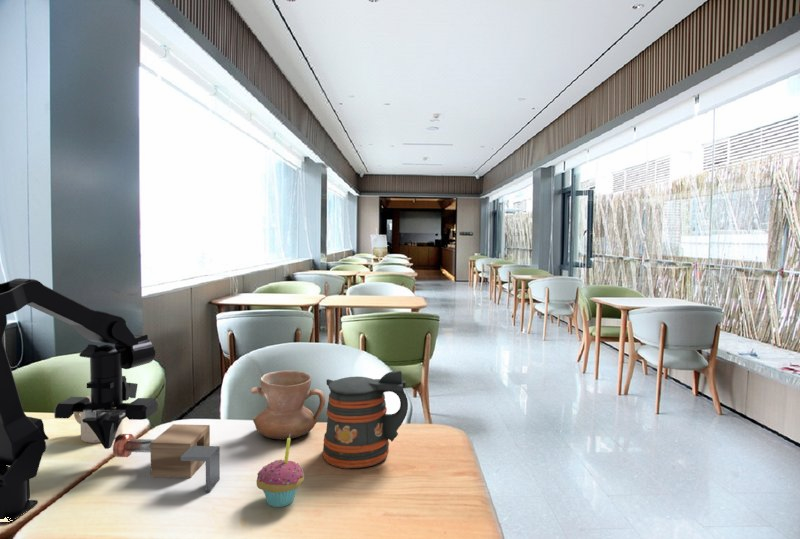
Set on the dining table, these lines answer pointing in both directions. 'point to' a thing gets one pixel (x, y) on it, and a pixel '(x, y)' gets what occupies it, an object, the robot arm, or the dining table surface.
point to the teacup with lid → (86, 431)
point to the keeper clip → (212, 462)
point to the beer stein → (362, 420)
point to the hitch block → (177, 450)
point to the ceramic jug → (286, 405)
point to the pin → (130, 445)
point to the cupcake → (280, 480)
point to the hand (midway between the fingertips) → (108, 448)
